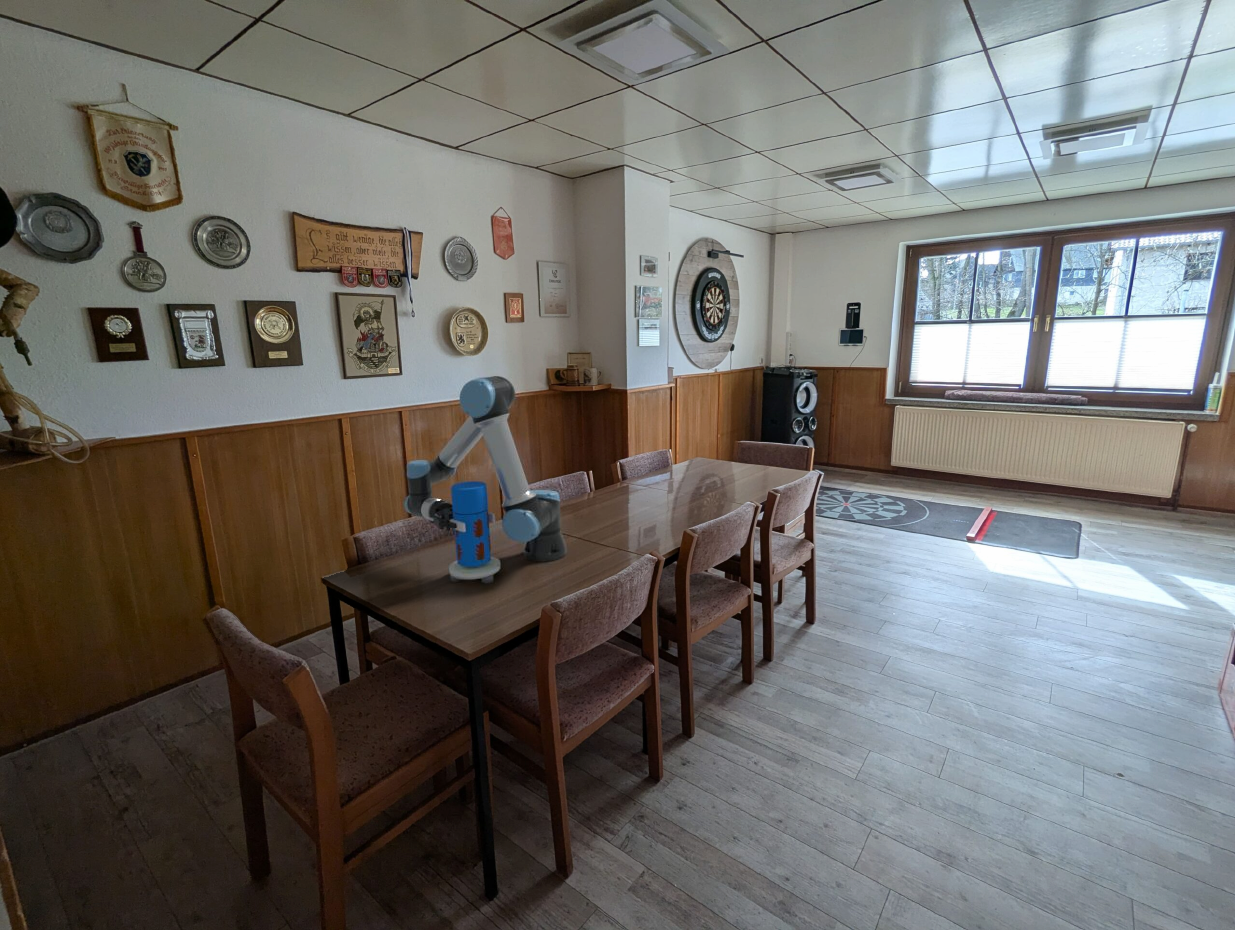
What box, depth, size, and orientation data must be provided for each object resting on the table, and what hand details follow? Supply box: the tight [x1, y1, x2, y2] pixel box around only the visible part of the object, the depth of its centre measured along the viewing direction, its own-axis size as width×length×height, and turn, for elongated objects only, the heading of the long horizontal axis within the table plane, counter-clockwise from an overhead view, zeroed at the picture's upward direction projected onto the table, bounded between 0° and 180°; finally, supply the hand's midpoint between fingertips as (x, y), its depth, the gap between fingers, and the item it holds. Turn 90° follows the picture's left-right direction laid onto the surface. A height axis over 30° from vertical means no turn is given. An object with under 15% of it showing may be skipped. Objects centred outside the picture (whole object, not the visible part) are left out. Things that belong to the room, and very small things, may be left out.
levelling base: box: [448, 556, 501, 584], centre depth 184 cm, size 16×16×4 cm
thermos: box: [450, 480, 492, 567], centre depth 181 cm, size 11×11×25 cm
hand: (479, 522), depth 178 cm, fingers closed on thermos, 11 cm apart
